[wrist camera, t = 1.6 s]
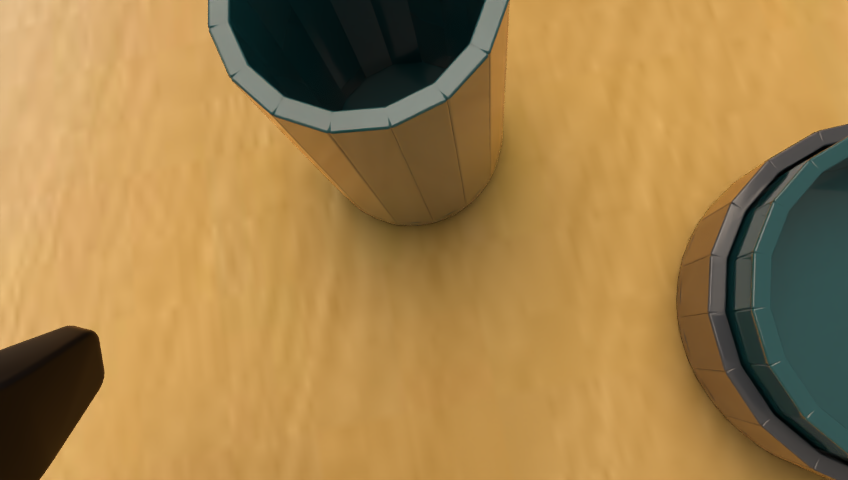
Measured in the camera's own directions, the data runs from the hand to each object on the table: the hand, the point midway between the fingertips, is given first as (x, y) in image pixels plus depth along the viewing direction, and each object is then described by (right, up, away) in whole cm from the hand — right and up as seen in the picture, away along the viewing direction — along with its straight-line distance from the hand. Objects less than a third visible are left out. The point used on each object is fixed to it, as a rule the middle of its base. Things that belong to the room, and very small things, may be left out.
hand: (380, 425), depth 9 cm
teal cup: (0, +6, +15) cm, 16 cm away
